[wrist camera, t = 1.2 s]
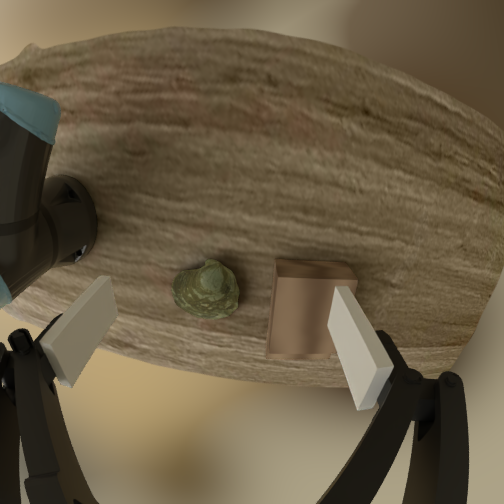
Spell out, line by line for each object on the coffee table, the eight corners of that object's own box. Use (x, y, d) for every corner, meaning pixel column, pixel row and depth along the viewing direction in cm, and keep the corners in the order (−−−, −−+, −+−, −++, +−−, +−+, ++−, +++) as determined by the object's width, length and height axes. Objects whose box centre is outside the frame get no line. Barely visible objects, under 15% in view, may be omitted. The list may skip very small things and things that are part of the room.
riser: (265, 347, 47) (266, 371, 41) (274, 258, 41) (277, 277, 35) (325, 347, 47) (332, 370, 41) (345, 262, 41) (358, 280, 35)
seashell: (168, 314, 43) (169, 305, 34) (173, 271, 45) (176, 251, 36) (229, 321, 45) (246, 315, 36) (232, 279, 48) (249, 263, 39)
